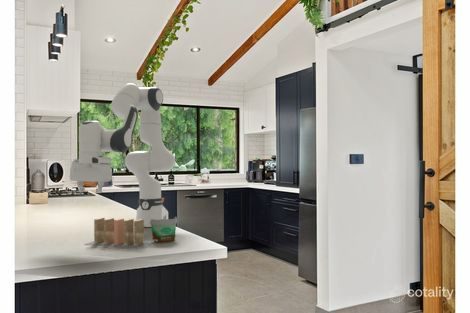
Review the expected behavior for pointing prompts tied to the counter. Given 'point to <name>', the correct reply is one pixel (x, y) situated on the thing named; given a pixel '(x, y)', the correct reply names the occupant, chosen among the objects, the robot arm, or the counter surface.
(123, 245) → the flat board
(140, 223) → the maple domino
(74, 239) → the counter surface
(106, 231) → the maple domino
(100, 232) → the maple domino
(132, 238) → the maple domino
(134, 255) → the counter surface
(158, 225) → the food container
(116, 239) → the terracotta domino
